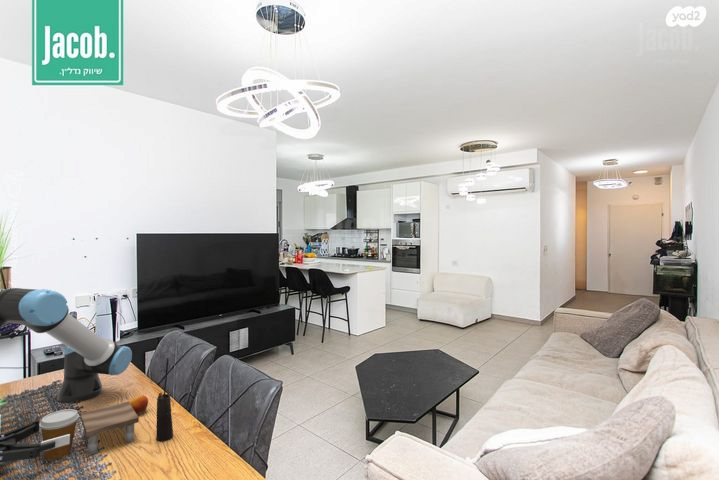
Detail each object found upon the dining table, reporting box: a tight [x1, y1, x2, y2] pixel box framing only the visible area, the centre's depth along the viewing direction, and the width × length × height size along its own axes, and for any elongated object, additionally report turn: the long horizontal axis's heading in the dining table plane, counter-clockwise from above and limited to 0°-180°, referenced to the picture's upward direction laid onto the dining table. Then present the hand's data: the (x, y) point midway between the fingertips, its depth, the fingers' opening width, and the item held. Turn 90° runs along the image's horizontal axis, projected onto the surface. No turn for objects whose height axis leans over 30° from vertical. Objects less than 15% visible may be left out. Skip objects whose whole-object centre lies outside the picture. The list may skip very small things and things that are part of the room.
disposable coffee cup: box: [39, 408, 80, 461], centre depth 110 cm, size 10×10×12 cm
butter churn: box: [155, 358, 174, 443], centre depth 121 cm, size 9×10×28 cm
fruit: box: [127, 394, 149, 417], centre depth 136 cm, size 8×8×8 cm
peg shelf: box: [79, 400, 140, 456], centre depth 119 cm, size 16×14×8 cm
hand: (67, 429), depth 111 cm, fingers open, 13 cm apart
